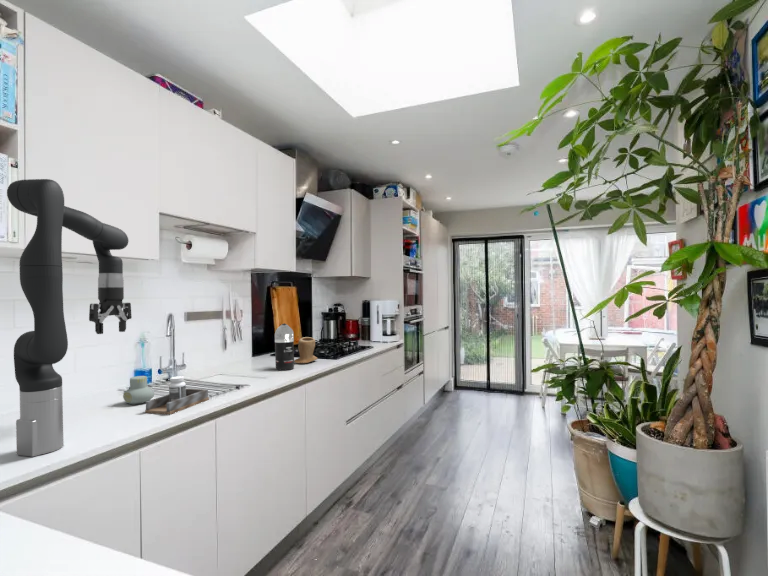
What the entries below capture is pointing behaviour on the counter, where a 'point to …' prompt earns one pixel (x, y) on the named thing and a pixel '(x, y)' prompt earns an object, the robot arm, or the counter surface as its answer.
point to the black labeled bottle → (284, 348)
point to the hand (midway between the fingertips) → (111, 332)
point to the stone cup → (306, 350)
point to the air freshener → (138, 391)
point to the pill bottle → (177, 388)
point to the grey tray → (176, 402)
